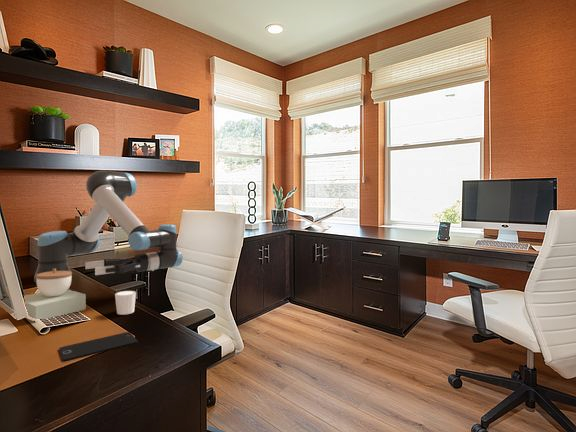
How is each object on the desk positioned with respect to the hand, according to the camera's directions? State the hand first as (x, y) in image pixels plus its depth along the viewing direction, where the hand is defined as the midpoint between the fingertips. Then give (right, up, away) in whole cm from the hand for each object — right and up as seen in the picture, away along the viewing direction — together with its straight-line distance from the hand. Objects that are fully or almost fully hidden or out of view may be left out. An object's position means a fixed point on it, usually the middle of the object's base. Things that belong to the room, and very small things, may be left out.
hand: (90, 268), depth 129 cm
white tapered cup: (+18, -15, -8) cm, 24 cm away
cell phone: (+24, -17, -36) cm, 46 cm away
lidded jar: (-8, -8, -8) cm, 14 cm away
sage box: (-9, -14, -9) cm, 19 cm away
